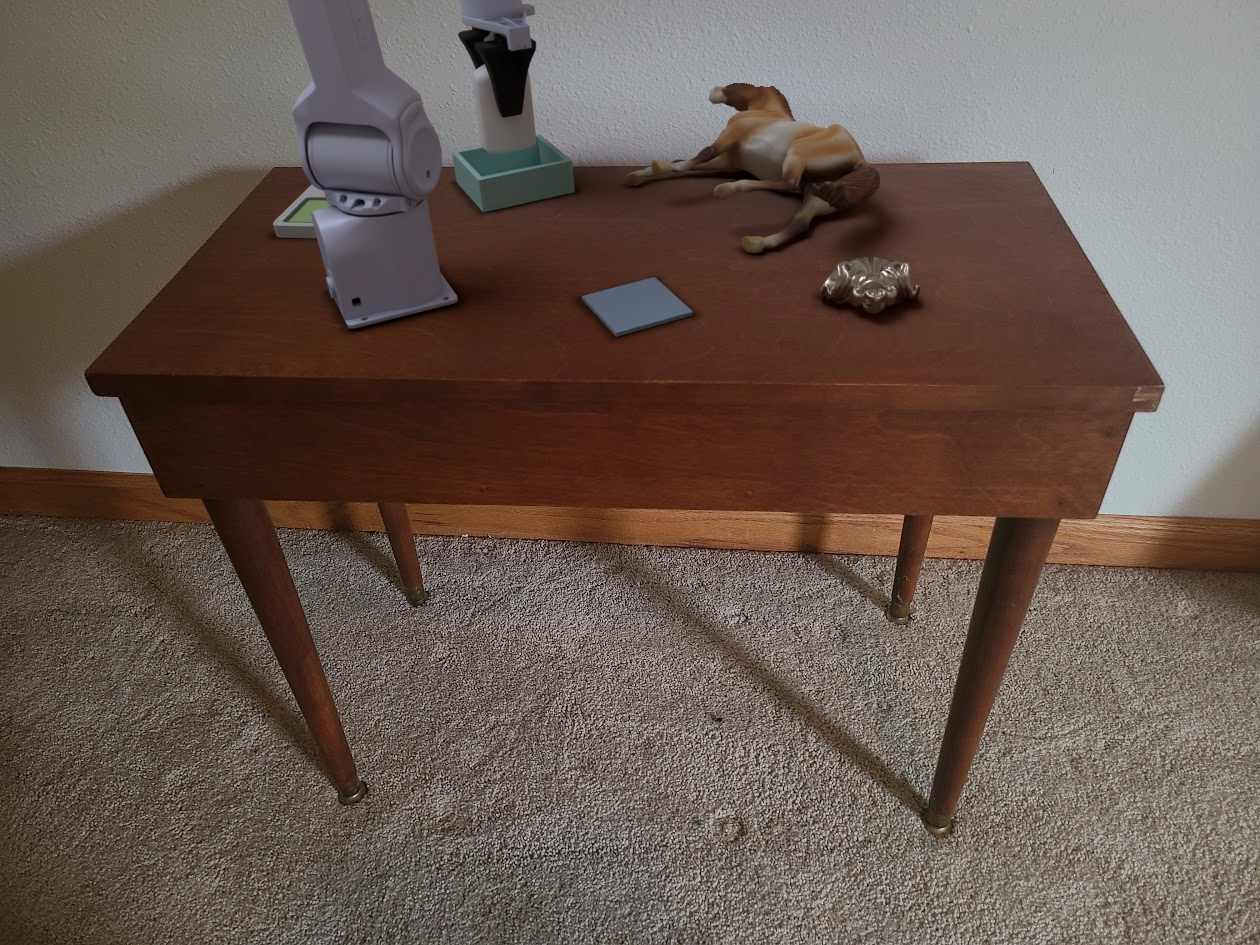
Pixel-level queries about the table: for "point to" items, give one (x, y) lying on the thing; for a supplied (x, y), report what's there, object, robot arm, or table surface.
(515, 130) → the eye dropper bottle
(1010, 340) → the table surface
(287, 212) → the handheld gaming console
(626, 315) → the pad
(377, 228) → the robot arm
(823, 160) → the horse figurine
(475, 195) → the box
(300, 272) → the table surface
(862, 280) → the ornament
